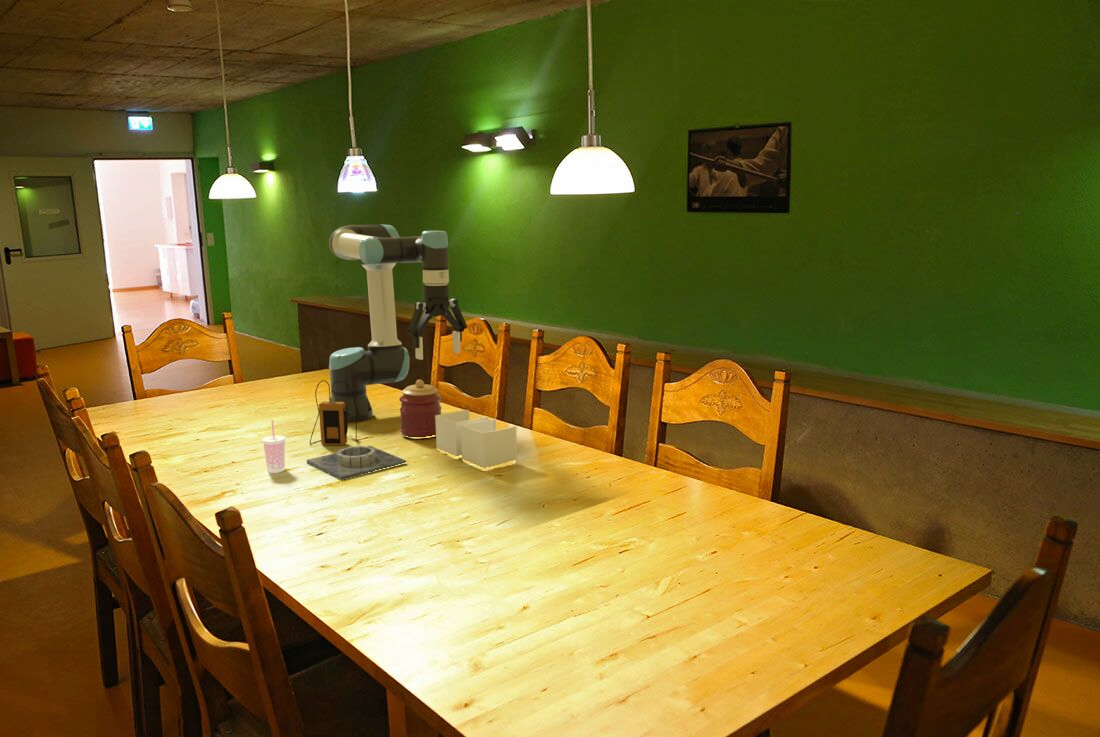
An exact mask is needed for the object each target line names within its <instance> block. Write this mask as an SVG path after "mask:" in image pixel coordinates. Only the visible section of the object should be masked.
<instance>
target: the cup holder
mask: <svg viewBox="0 0 1100 737" xmlns="http://www.w3.org/2000/svg"><path fill="white" fill-rule="evenodd" d="M405 462H407V460H406V459H404V458H401V457H398V456H396V455H394V454H392V453H390V452H389V453H388V452H386V451H384V450H381V449H379V448H377V447H374V446H371V445H367V446H366V445H365V446H364V445H359V446H348V447H345V448H341V449H339V450H337V451H336V453H331V454H327V455H322V456H317V457H314V458H309V459H306V464H307V465H309V466H312V467H314V466H315V467H314V468H316V469H318V468H319V469H318V470H320V471H322V472H324V473H326V474H328V473H329V475H330V476H333V477H334V476H335V477H334V478H336V477H337V478H336V479H338V478H339V480H341V481H343V479H344V480H347V479H346V478H348V479H351V478H350V477H352V478H355V477H354V476H356V477H359V476H358V475H360V476H362V475H361V474H364V475H366V474H365V473H368V472H373V471H375V470H379V469H383V468H387V467H391V466H395V465H398V464H402V463H405ZM373 473H374V472H373ZM368 474H369V473H368Z"/></svg>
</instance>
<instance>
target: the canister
mask: <svg viewBox="0 0 1100 737" xmlns="http://www.w3.org/2000/svg"><path fill="white" fill-rule="evenodd" d="M438 392H439V389H438V388H437V387H435V386H434V385H432V384H425V381H423V379H417V380H416V381H415V384H411V385H408V386H406V387H405V388H404V389H403V390H401V393H402V395H401V396H400V397H399V402H400V404H401V405H400V406H401V407H400V408H399V411H400V433H401V436H402V435H404V436H408V437H426V436H432V435H436V420H435V415H441V414H442V408H443V407H442V406H441V403H440V401H441V399H442V396H441V395H440V394H438Z"/></svg>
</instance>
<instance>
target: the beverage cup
mask: <svg viewBox="0 0 1100 737" xmlns="http://www.w3.org/2000/svg"><path fill="white" fill-rule="evenodd" d="M274 425H275V423H274V420H271V430H272V435H269V436H265V437H263V438H262V440H261V442H262V444H263V450H264V456H265V457H264V458H265V463H266V470H267V472H268V473H272V474H273V473H274V474H275V473H276V474H277V473H281V472H284V471H285V470H286V452H285V451H286V436H284V435H277V434H276V435H275V426H274Z"/></svg>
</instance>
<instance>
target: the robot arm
mask: <svg viewBox="0 0 1100 737" xmlns="http://www.w3.org/2000/svg"><path fill="white" fill-rule="evenodd" d="M448 241H449V239H448V232H447V231H446V230H445V231H444V230H424V231H422V233H421V235H418V236H416V235H414V236H400V235H399V233H398V231H397V229H396V228H395V227H394V226H393V225H390V224H381V223H379V224H378V223H377V224H348V225H344V226H341V227H338V228H337V229H335V230H334V231H333V232H332V234H331V235H330V237H329V240H328V245H329V249H330V251H331V252H332V254H333V255H334V256H335V257H337V258H338V259H342V260H345V261H346V260H349V261H361V262H360V263H361V266H362V267H363V268H364V269H365V271H366V279H367V291H368V292H367V294H368V306H369V307H368V308H369V318H370V319H369V320H370V332H371V341H370V342H369V343H368V344H367V350H365V349H364V348H363V347H360V346H358V347H357V346H356V347H355V346H354V347H348V348H342V349H339V350H336V351H334V352H333V353H331V354H330V356H329V361H328V363H329V364H328V369H329V378H330V396H331V402H333V401H332V398H333V395H332V393H334V400H335V402H345V409H346V413H347V423H356V409H357V421H358V422H363V421H367V420H369V419H368V418H370V417H371V418H372V417H373V416H374V413H373V408H372V404H371V402H370V400H369V398H368V394H367V386H371V385H380V384H388V383H389V384H391V383H392V384H394V383H395V382H401V381H403V380H404V379H405V378H406V377H407V375H408V373H409V370H410V355H409V351H408V349H407V348H406V347H403V343H402V341H400V340H399V339H398V332H397V319H396V318H397V317H396V304H395V290H394V276H393V268H394V267H395V266H396V265H397V264H402V263H404V264H405V263H406V264H407V263H408V264H409V263H422V264H421V265H422V283H423V287H422V288H423V290H422V292H423V298H424V302H418V301H417V302H415V303H414V311H413V313H412V316H411V320H410V322H409V325H408V327H407V330H406V335H407V336H411V337H412V347H413V349H414V350H415V359H417V360H420V361H421V360H424V345H423V337H422V336H421V335H422V334H423V332H424V330H425V329H426V327H427V325H428V323H429V322H430V321H431V320H432V318H433V317H439V316H440V317H444V318H445V320H446V321H447V323H449V325H450V326H451V327H452V329H454V330H452V352H453V353H454V354H461V342H463V337H462V336H463V334H462V333H463V332H464V331H465V329H467V328H468V325H467V323H466V319H465V318H464V316H463V314H462V310H461V309H460V307H459V301H458V299H456V298H450V299H449V297H450V286H449V284H448V283H449V282H450V273H449V242H448ZM449 308H450V309H451V310H450V309H449ZM423 311H424V312H423ZM452 314H453V315H452ZM337 381H343V382H345V383H346V384H348V386H349V387H350V389H351V391H352V393H353V396H354V399H355V403H356V408H355V403H354V399H353V396H352V393H351V391H350V389H349V387H348V386H347V385H346V384H345V383H343V382H337ZM335 382H337V383H335ZM334 383H335V384H334ZM333 384H334V386H333ZM332 386H333V390H332ZM371 418H370V419H371ZM366 419H367V420H366ZM362 420H363V421H362Z"/></svg>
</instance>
